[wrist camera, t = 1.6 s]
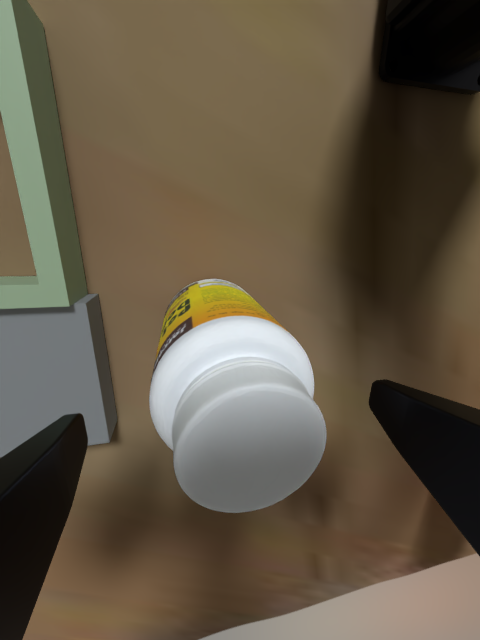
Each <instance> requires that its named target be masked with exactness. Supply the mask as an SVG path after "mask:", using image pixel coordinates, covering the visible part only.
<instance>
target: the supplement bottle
mask: <svg viewBox="0 0 480 640" xmlns="http://www.w3.org/2000/svg"><path fill="white" fill-rule="evenodd" d="M313 394H314V377H313V371H312V367H311V364H310V361H309V359H308V356H307V354H306V353H305V351H304V349H303V348H302V347H301V345H300V344H299V343H298V342H297V340H296V339H295V338H294V337H293V336H292V335H291V334H290V333H289V332H288V331H287V330H286V329H285V328H284V327H282V326H281V325H280V324H279V323H278V322H277V321H276V320H275V319H274V318H273V317H272V316H271V315H270V314H269V313H267V312H266V311H265V310H264V309H263V308H262V307H261V306H260V305H259V304H258V303H257V302H256V301H255V300H254V299H253V298H252V297H251V296H250V295H249V294H248V293H247V292H245V291H244V290H243V289H242V288H240V287H239V286H237V285H235V284H233V283H231V282H228V281H225V280H220V279H206V280H201V281H197V282H194V283H192V284H190V285H188V286H186V287H185V288H183V289H182V290H181V291H180V292H179V293H177V295H176V296H175V297H174V298H173V299H172V301H171V302H170V304H169V306H168V308H167V311H166V314H165V317H164V321H163V327H162V331H161V336H160V341H159V346H158V349H157V354H156V361H155V365H154V370H153V375H152V379H151V388H150V398H149V402H150V412H151V417H152V421H153V423H154V426H155V428H156V430H157V432H158V434H159V435H160V437H161V438H162V440H163V441H164V442H165V443H166V445H167V446H168V447H169V448H170V449H172V450H173V463H174V470H175V474H176V478H177V480H178V482H179V485H180V486H181V488H182V490H183V491H184V492H185V493H186V494H187V495H188V496H189V497H190V498H191V499H192V500H193V501H195V502H196V503H198V504H199V505H201V506H203V507H206V508H208V509H211V510H215V511H219V512H226V513H241V512H250V511H254V510H258V509H262V508H265V507H268V506H271V505H273V504H275V503H277V502H279V501H281V500H283V499H284V498H286V497H287V496H289V495H290V494H292V493H293V492H294V491H296V490H297V489H299V488H300V487H301V486H302V485H303V484H304V483H305V482H306V481H307V480H308V478H309V477H310V476H311V475H312V473H313V472H314V471H315V469H316V467H317V466H318V464H319V462H320V460H321V458H322V455H323V452H324V450H325V444H326V426H325V421H324V418H323V415H322V413H321V411H320V409H319V407H318V406H317V404H316V403H315V402H314V400H313Z"/></svg>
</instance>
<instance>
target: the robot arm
mask: <svg viewBox="0 0 480 640" xmlns="http://www.w3.org/2000/svg"><path fill="white" fill-rule="evenodd" d="M389 64H391V66H392V71H391V70H390V68H389ZM379 74H380V77H381V79H382V80H383V81H386V82H391V83H398V84H405V85H411V86H418V87H424V88H431V89H438V90H444V91H451V92H457V93H464V94H470V95H472V94H475V93H478V92H480V0H388V3H387V10H386V25H385V32H384V39H383V46H382V53H381V60H380V67H379ZM477 81H478V83H477ZM369 406H370V409H371V410H372V412H373V414H374V415H375V417H376V418H377V420H378V421H379V423H380V424H381V426H382V427H383V429H384V431H385V432H386V434H387V435H388V437H389V438H390V440H391V441H392V443H393V444H394V446H395V447H396V449H397V450H398V451H399V453H400V454H401V455H402V457H403V458H404V459H405V461H406V462H407V463H408V465H409V466H410V467H411V468H412V470H413V471H414V472H415V474H416V475H417V476H418V477H419V479H420V480H421V481H422V483H423V484H424V485H425V486H426V488H427V489H428V490H429V492H430V493H431V494H432V495H433V497H434V498H435V499H436V501H437V502H438V503H439V505H440V506H441V507H442V508H443V510H444V511H445V512H446V514H447V515H448V516H449V517H450V519H451V520H452V521H453V523H454V524H455V525H456V526H457V528H458V529H459V530H460V532H461V533H462V534H463V535H464V537H465V538H466V539H467V541H468V542H469V543H470V544H471V546H472V547H473V548H474V550H475V551H476V552H477V554H478V555H479V556H480V410H479V409H476V408H473V407H470V406H467V405H464V404H461V403H458V402H454V401H451V400H448V399H445V398H442V397H439V396H436V395H433V394H430V393H427V392H424V391H420V390H417V389H414V388H411V387H408V386H405V385H402V384H399V383H396V382H393V381H390V380H385V379H384V380H376V381H374V382H373V383H372V387H371V392H370V397H369ZM87 446H88V436H87V431H86V426H85V421H84V417H83V415H82V414H81V413H75V414H66V415H63V416H62V417H60V418H59V419H57V420H56V421H54V422H53V423H52V424H50V425H49V426H47V427H46V428H44V429H43V430H41V431H40V432H38V433H37V434H35V435H34V436H32V437H31V438H29V439H28V440H26V441H25V442H23V443H22V444H20V445H19V446H18V447H16V448H15V449H13V450H12V451H10V452H9V453H7V454H6V455H4V456H3V457H1V458H0V640H22V639H23V636H24V634H25V631H26V628H27V625H28V623H29V620H30V617H31V615H32V612H33V609H34V607H35V604H36V601H37V599H38V596H39V593H40V591H41V588H42V585H43V583H44V580H45V577H46V574H47V572H48V569H49V566H50V564H51V561H52V558H53V556H54V553H55V550H56V548H57V545H58V542H59V540H60V537H61V534H62V531H63V529H64V526H65V523H66V521H67V518H68V515H69V512H70V510H71V507H72V504H73V500H74V496H75V493H76V489H77V485H78V481H79V477H80V473H81V469H82V466H83V462H84V458H85V454H86V450H87Z"/></svg>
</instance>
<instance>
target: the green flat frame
mask: <svg viewBox="0 0 480 640" xmlns="http://www.w3.org/2000/svg"><path fill="white" fill-rule="evenodd" d="M0 111H1V115H2V120H3V124H4V129H5V133H6V138H7V142H8V147H9V151H10V156H11V160H12V165H13V169H14V174H15V178H16V183H17V187H18V192H19V196H20V201H21V205H22V210H23V214H24V219H25V223H26V228H27V232H28V237H29V241H30V246H31V250H32V255H33V259H34V264H35V268H36V273H37V276H3V277H0V457H3V456H4V455H6V454H7V453H9V452H10V451H12V450H13V449H15V448H16V447H18V446H19V445H20V444H22V443H23V442H25V441H26V440H28V439H29V438H31V437H32V436H34V435H35V434H37V433H38V432H40V431H41V430H43V429H44V428H46V427H47V426H49V425H50V424H52V423H53V422H54V421H56V420H57V419H59V418H60V417H62V416H63V415H66V414H75V413H81V414H82V415H83V417H84V421H85V426H86V431H87V436H88V445H95V444H102V443H110V440H111V437H112V434H113V431H114V428H115V425H116V422H117V413H116V406H115V400H114V393H113V387H112V380H111V374H110V367H109V361H108V354H107V348H106V341H105V335H104V328H103V322H102V315H101V309H100V302H99V296H98V294H88V292H87V286H86V280H85V274H84V268H83V261H82V255H81V249H80V243H79V237H78V231H77V225H76V219H75V213H74V207H73V201H72V195H71V189H70V183H69V177H68V171H67V165H66V159H65V153H64V147H63V141H62V135H61V129H60V123H59V117H58V111H57V105H56V99H55V93H54V87H53V81H52V75H51V69H50V63H49V57H48V51H47V45H46V39H45V33H44V27H43V24H42V22H41V21H40V19H39V18H38V16H37V15H36V13H35V12H34V10H33V9H32V7H31V6H30V4H29V3H28V1H27V0H0Z"/></svg>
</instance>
